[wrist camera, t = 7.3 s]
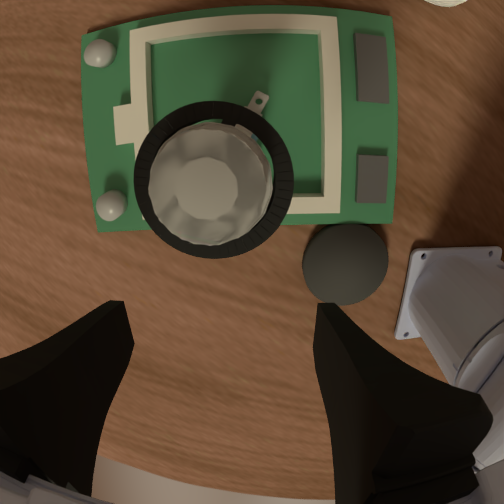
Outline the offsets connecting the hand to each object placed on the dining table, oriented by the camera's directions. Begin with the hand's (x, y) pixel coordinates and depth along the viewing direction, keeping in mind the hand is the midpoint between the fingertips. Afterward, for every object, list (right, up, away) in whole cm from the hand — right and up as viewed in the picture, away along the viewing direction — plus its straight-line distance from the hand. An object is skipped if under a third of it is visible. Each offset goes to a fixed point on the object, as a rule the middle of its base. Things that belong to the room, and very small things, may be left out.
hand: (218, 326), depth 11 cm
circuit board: (0, +11, +7) cm, 13 cm away
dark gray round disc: (+8, +2, +11) cm, 13 cm away
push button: (0, +9, +7) cm, 11 cm away
